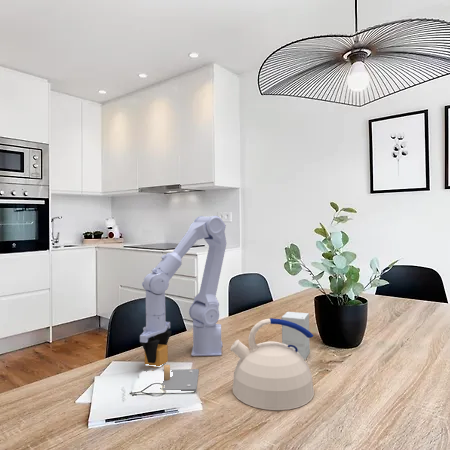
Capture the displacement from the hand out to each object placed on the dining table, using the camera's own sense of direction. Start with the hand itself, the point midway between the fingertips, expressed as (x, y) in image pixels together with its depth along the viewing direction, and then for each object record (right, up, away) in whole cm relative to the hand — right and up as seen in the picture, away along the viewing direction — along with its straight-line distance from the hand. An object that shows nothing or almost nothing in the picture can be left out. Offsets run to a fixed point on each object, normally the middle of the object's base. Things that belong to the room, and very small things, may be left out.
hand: (156, 358), depth 108 cm
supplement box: (+43, -1, +6) cm, 43 cm away
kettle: (+32, -2, -17) cm, 37 cm away
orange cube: (0, -1, 0) cm, 1 cm away
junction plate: (+5, -2, -13) cm, 14 cm away
